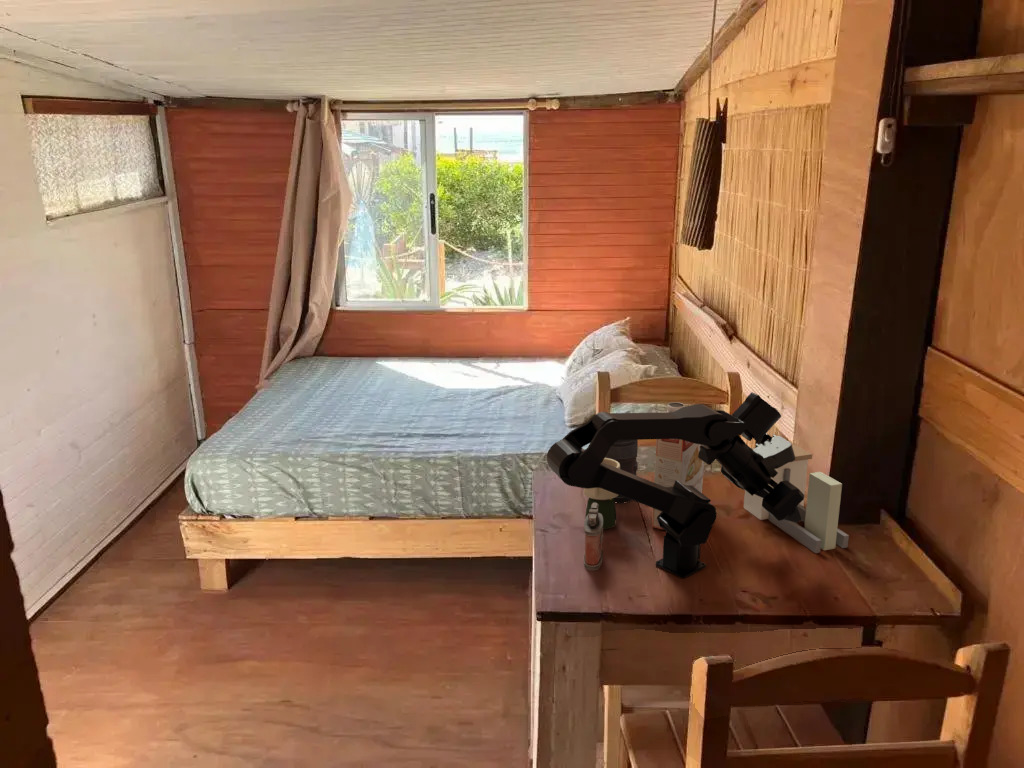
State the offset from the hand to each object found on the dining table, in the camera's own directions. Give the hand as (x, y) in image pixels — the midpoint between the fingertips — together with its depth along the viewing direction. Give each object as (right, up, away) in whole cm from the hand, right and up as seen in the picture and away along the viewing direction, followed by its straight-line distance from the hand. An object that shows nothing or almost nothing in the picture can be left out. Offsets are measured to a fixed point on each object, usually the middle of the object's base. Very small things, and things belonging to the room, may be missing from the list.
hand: (784, 509), depth 142 cm
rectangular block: (+8, -7, +4) cm, 11 cm away
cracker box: (-16, -4, +15) cm, 23 cm away
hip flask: (-35, -9, 0) cm, 36 cm away
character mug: (-32, -5, +13) cm, 35 cm away
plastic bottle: (-15, -1, +27) cm, 31 cm away
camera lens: (-27, -2, +25) cm, 37 cm away
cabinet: (+6, -5, +11) cm, 13 cm away
